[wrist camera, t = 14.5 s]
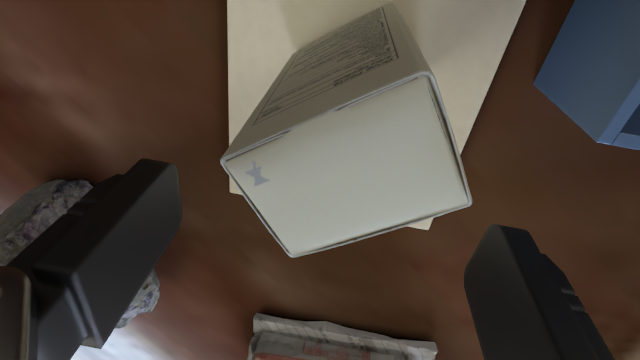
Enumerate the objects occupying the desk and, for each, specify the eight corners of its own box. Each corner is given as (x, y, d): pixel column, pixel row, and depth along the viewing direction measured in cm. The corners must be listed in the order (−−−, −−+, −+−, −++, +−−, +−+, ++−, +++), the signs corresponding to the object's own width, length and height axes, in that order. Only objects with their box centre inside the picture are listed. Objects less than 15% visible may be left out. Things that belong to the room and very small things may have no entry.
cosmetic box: (324, 116, 22) (282, 265, 12) (290, 51, 20) (205, 164, 10) (427, 73, 20) (481, 212, 10) (400, -5, 18) (432, 68, 8)
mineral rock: (169, 293, 36) (107, 399, 27) (65, 268, 35) (-29, 367, 27) (161, 193, 28) (73, 299, 20) (29, 161, 28) (-114, 254, 20)
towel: (232, 188, 27) (229, 192, 26) (228, -245, 14) (223, -252, 14) (427, 225, 26) (428, 230, 26) (600, -187, 14) (609, -192, 13)
